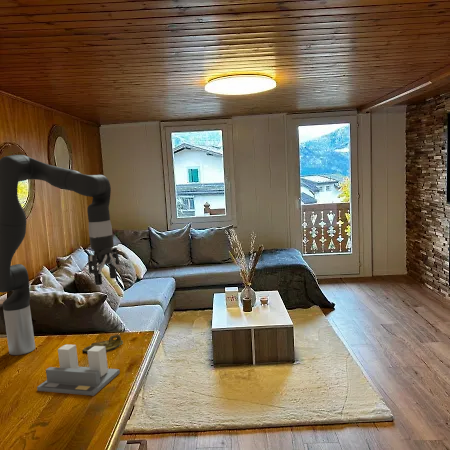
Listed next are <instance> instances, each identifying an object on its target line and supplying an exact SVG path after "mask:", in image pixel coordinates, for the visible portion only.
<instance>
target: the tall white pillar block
mask: <svg viewBox="0 0 450 450" xmlns="http://www.w3.org/2000/svg"><path fill="white" fill-rule="evenodd" d="M86 354H87V359H88V360H87V361H88V367H89V370H99V373H100V377H102V376H103V375H104V374H106V373H107V372H108V369H109V366H108V360H107V352H106V348H105V346H94V347H92V348H91V349H89V350H88V351H87V353H86Z"/></svg>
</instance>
